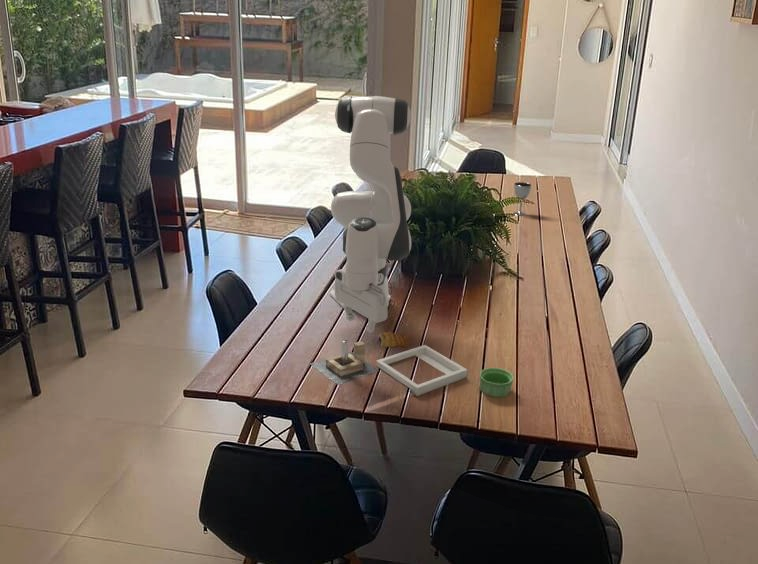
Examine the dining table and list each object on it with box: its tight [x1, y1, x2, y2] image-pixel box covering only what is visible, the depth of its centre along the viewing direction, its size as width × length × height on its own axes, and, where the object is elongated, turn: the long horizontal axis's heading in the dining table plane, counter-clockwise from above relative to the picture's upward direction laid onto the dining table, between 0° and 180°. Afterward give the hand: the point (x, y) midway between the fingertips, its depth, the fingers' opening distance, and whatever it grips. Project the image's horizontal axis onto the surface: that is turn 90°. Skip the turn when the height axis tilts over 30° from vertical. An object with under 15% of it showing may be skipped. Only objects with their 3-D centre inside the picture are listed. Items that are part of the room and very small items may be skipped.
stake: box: [309, 339, 380, 386], centre depth 196 cm, size 14×14×9 cm
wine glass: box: [512, 181, 532, 217], centre depth 349 cm, size 8×8×15 cm
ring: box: [325, 340, 366, 376], centre depth 197 cm, size 8×10×6 cm
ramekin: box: [479, 367, 515, 398], centre depth 190 cm, size 9×9×4 cm
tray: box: [375, 344, 468, 397], centre depth 197 cm, size 18×18×2 cm
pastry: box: [377, 331, 410, 348], centre depth 213 cm, size 9×7×4 cm
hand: (359, 325), depth 196 cm, fingers open, 8 cm apart
